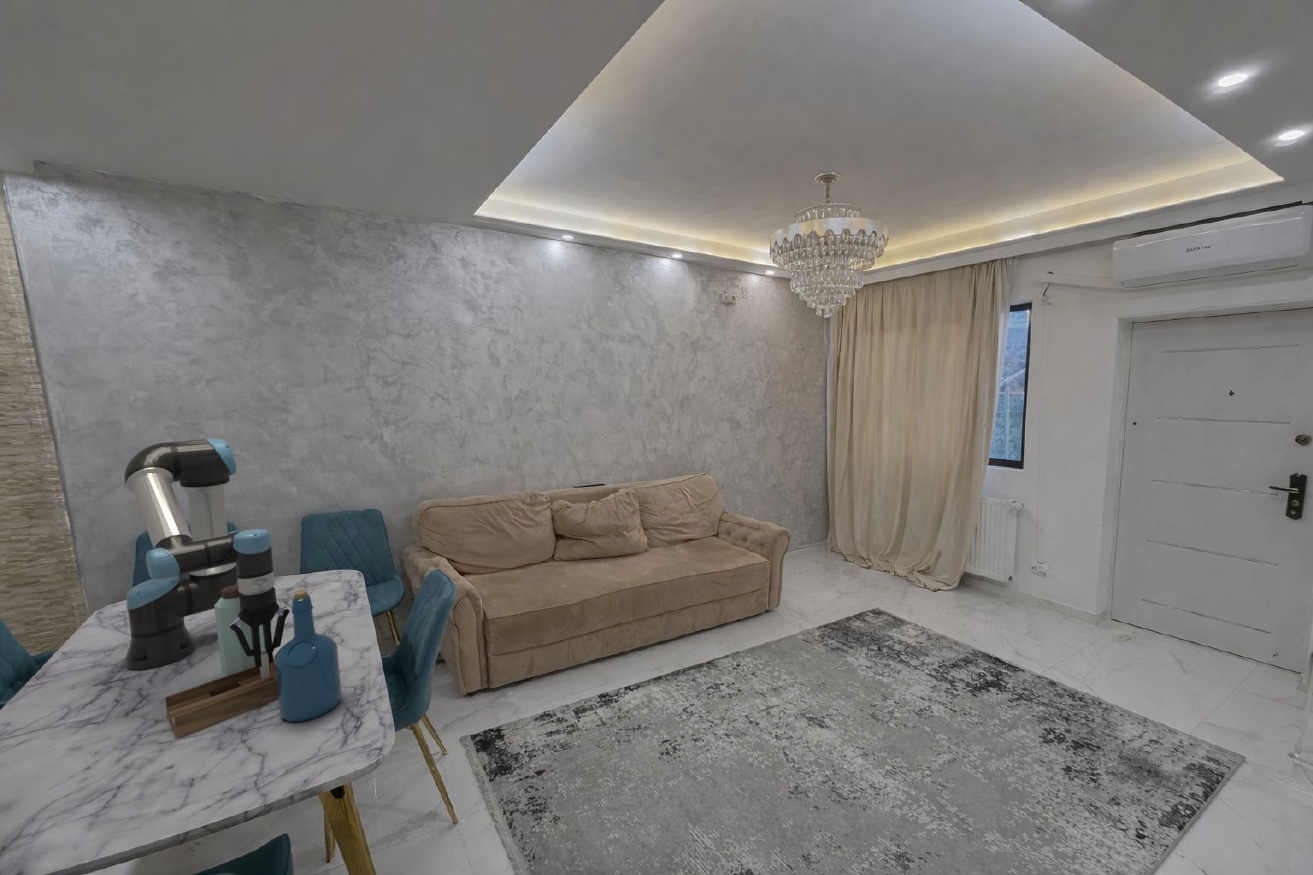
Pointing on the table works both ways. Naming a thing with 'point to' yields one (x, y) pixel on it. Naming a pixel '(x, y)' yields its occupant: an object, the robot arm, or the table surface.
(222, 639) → the water bottle
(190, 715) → the trap box
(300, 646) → the wine bottle
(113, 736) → the table surface
